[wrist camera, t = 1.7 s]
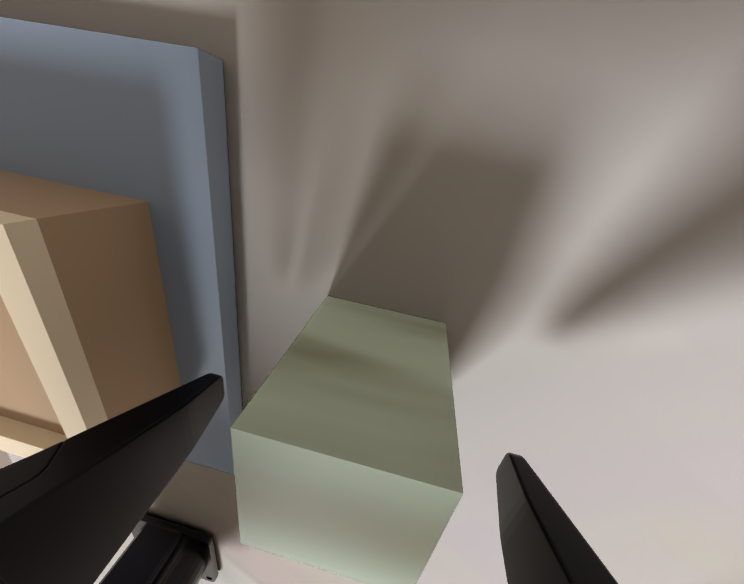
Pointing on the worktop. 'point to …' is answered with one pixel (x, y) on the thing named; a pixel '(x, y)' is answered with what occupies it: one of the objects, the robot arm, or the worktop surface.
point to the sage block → (352, 446)
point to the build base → (143, 155)
